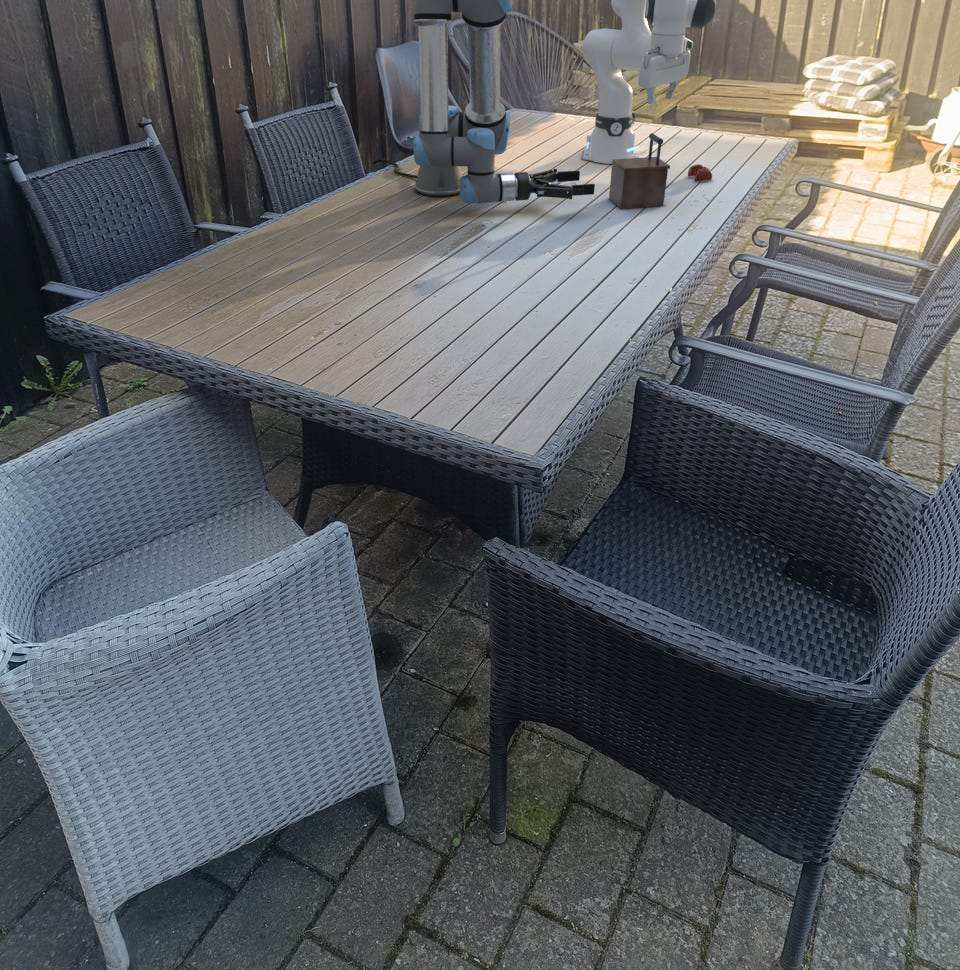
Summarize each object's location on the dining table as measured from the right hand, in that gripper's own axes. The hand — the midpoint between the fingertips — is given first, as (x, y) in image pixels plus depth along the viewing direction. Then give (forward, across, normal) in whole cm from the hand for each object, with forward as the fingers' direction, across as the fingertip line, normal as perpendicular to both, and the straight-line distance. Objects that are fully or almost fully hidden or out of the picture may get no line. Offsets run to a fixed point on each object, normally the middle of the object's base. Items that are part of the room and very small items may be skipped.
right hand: (660, 100), depth 233 cm
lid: (+17, -3, +2) cm, 18 cm away
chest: (+28, -3, +2) cm, 28 cm away
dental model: (+28, +30, +1) cm, 41 cm away
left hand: (+21, -16, +11) cm, 29 cm away
